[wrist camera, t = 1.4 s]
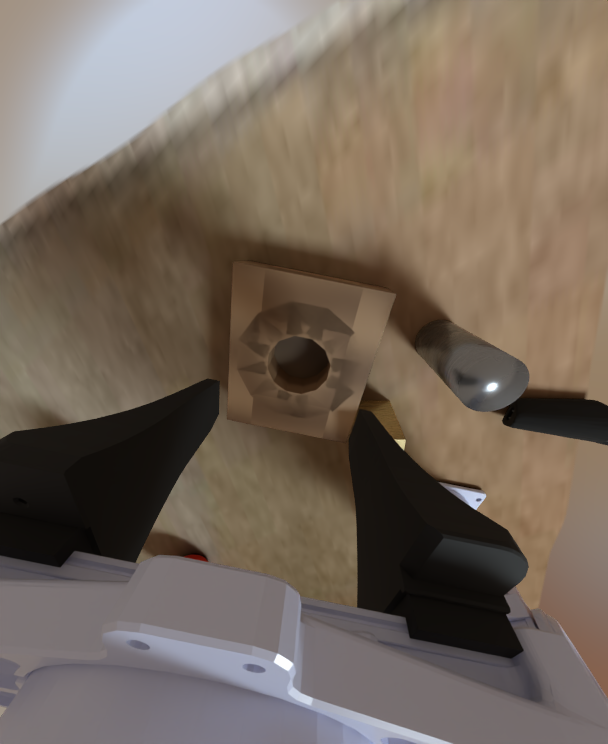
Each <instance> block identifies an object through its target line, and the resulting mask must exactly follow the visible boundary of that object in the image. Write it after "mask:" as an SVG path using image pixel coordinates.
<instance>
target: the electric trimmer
mask: <svg viewBox="0 0 608 744" xmlns="http://www.w3.org/2000/svg"><path fill="white" fill-rule="evenodd" d="M502 422H503V424H504V425H506V426H509V427H512V428H517V429H523V430H528V431H534V432H540V433H546V434H551V435H557V436H562V437H568V438H574V439H580V440H586V441H591V442H596V443H600V444H605V445H608V406H607V405H605V404H603V403H601V402H599V401H595V400H585V399H529V398H518V399H517V400H516V401H514V402H513V403H512V404H511V406H510V407H509V409H508V411H507V413H506V414H505V416H504V418H503V420H502Z"/></svg>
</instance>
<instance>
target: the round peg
mask: <svg viewBox="0 0 608 744" xmlns="http://www.w3.org/2000/svg"><path fill="white" fill-rule="evenodd" d="M415 347H416V350H417V352H418V354H419V355H420V356H421V357H422V358H423V359H424V360H425V361H426V363H427V364H428V365H429V366H430V367H431V368H432V369H433V370H434V371H435V373H436V374H437V375H438V376H439V377H440V378H441V379H442V380H443V381H444V383H445V384H446V385H447V386H448V387H449V388H450V389H451V390H452V391H453V393H454V394H455V395H456V396H457V397H458V398H459V399H460V400H461V402H462V403H463V404H464V405H465V406H467V407H468V408H470V409H472V410H476V411H481V412H487V411H495V410H498V409H501V408H504V407H506V406H508V405H510V404H511V403H513V402H514V401H516V400H517V399H518V398H519V397H520V396H521V395H522V394H523V392H524V391H525V389H526V387H527V385H528V382H529V372H528V369H527V367H526V366H525V364H524V363H523V362H521V361H520V360H518V359H516V358H515V357H513V356H511V355H509V354H507V353H506V352H504V351H502V350H500V349H499V348H497V347H495V346H493V345H491V344H490V343H488V342H486V341H484V340H482V339H481V338H479V337H477V336H475V335H473V334H472V333H470V332H468V331H466V330H464V329H463V328H461V327H459V326H457V325H456V324H454V323H452V322H450V321H447V320H437V321H433V322H431V323H429V324H427V325H426V326H424V327H423V328H422V329H421V330H420V332H419V333H418V335H417V337H416V340H415Z"/></svg>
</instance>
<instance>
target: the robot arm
mask: <svg viewBox="0 0 608 744" xmlns="http://www.w3.org/2000/svg"><path fill="white" fill-rule="evenodd" d="M219 383H220V381H217V380H212V379H206V380H203V381H201V382H199V383H196V384H194V385H192V386H190V387H188V388H185V389H183V390H181V391H179V392H176V393H174V394H172V395H169V396H167V397H164V398H162V399H159V400H157V401H154V402H152V403H149V404H146V405H143V406H140V407H137V408H134V409H131V410H128V411H124V412H121V413H117V414H113V415H109V416H105V417H101V418H97V419H92V420H87V421H82V422H77V423H71V424H66V425H60V426H53V427H46V428H38V429H31V430H23V431H14V432H12V433H10V434H9V435H7V436H5V437H3V438H2V439H0V706H2V707H6V708H7V709H6V710H5V711H4V713H3V714H2V716H1V717H0V744H608V699H607V697H606V695H605V694H604V692H603V691H602V689H601V687H600V686H599V684H598V683H597V681H596V680H595V678H594V676H593V675H592V673H591V672H590V670H589V668H588V667H587V665H586V664H585V662H584V661H583V659H582V658H581V656H580V655H579V653H578V651H577V650H576V648H575V647H574V645H573V644H572V642H571V641H570V639H569V638H568V636H567V635H566V633H565V632H564V630H563V629H562V627H561V626H560V624H559V623H558V622H557V621H556V620H555V619H554V618H552V617H550V616H549V615H547V614H545V613H544V612H543V611H542V610H541V609H533V610H530V609H529V608H528V606H527V605H526V604H525V602H524V601H523V599H522V597H521V596H520V594H519V592H518V590H517V588H516V587H515V586H516V585H517V584H518V583H520V582H521V581H522V580H523V578H524V577H525V576H526V573H527V570H528V567H529V566H528V562H527V559H526V558H525V556H524V555H523V553H522V552H521V550H520V548H519V547H518V545H517V544H516V542H515V541H514V539H513V538H512V536H511V535H510V533H509V531H508V530H507V529H505V528H504V527H502V526H500V525H499V524H497V523H496V522H494V521H492V520H491V519H489V518H488V517H486V516H484V515H483V514H481V513H480V512H478V511H477V510H476V509H477V508H478V507H479V505H480V504H481V503H482V501H483V500H484V499H485V498H486V494H485V492H484V491H481V490H476V489H471V488H466V487H461V486H456V485H451V484H446V483H441V482H437V481H436V480H435V479H434V478H432V477H431V476H430V475H429V474H428V473H427V472H425V471H424V470H423V469H422V468H421V467H420V466H419V465H418V464H417V463H416V462H415V461H414V460H413V459H412V458H411V457H410V456H409V455H408V454H407V453H406V452H405V451H404V450H403V449H402V448H401V447H400V446H399V444H398V443H397V442H396V441H395V440H394V439H393V438H392V436H391V435H390V434H389V433H388V431H387V430H386V429H385V428H384V426H383V425H382V424H381V423H380V421H379V420H378V419H377V418H376V416H375V415H374V414H373V413H372V412H371V411H367V410H362V409H359V411H358V414H357V417H356V420H355V423H354V426H353V429H352V432H351V435H350V438H349V461H350V469H351V476H352V483H353V490H354V496H355V505H356V522H357V561H358V594H357V608H356V607H351V606H346V605H341V604H336V603H331V602H326V601H321V600H316V599H311V598H306V597H301V596H300V595H299V593H298V591H297V590H296V589H295V588H294V587H293V586H291V585H290V584H289V583H288V582H286V581H285V580H283V579H280V578H277V577H274V576H271V575H269V574H265V573H260V572H255V571H250V570H245V569H240V568H235V567H230V566H225V565H220V564H215V563H210V562H205V561H200V560H195V559H190V558H185V557H180V556H171V555H157V556H155V557H152V558H149V559H147V560H145V561H142V562H141V563H140V564H138V563H135V562H136V560H137V558H138V556H139V554H140V552H141V550H142V547H143V545H144V543H145V541H146V539H147V537H148V535H149V533H150V531H151V529H152V527H153V525H154V523H155V521H156V519H157V517H158V515H159V513H160V511H161V509H162V507H163V505H164V503H165V502H166V500H167V498H168V496H169V494H170V492H171V490H172V489H173V487H174V485H175V483H176V481H177V480H178V478H179V476H180V474H181V473H182V471H183V470H184V468H185V466H186V465H187V463H188V462H189V461H190V459H191V458H192V456H193V455H194V453H195V452H196V451H197V449H198V448H199V446H200V445H201V443H202V442H203V441H204V439H205V438H206V436H207V435H208V433H209V432H210V430H211V428H212V427H213V425H214V423H215V421H216V419H217V417H218V415H219Z"/></svg>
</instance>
